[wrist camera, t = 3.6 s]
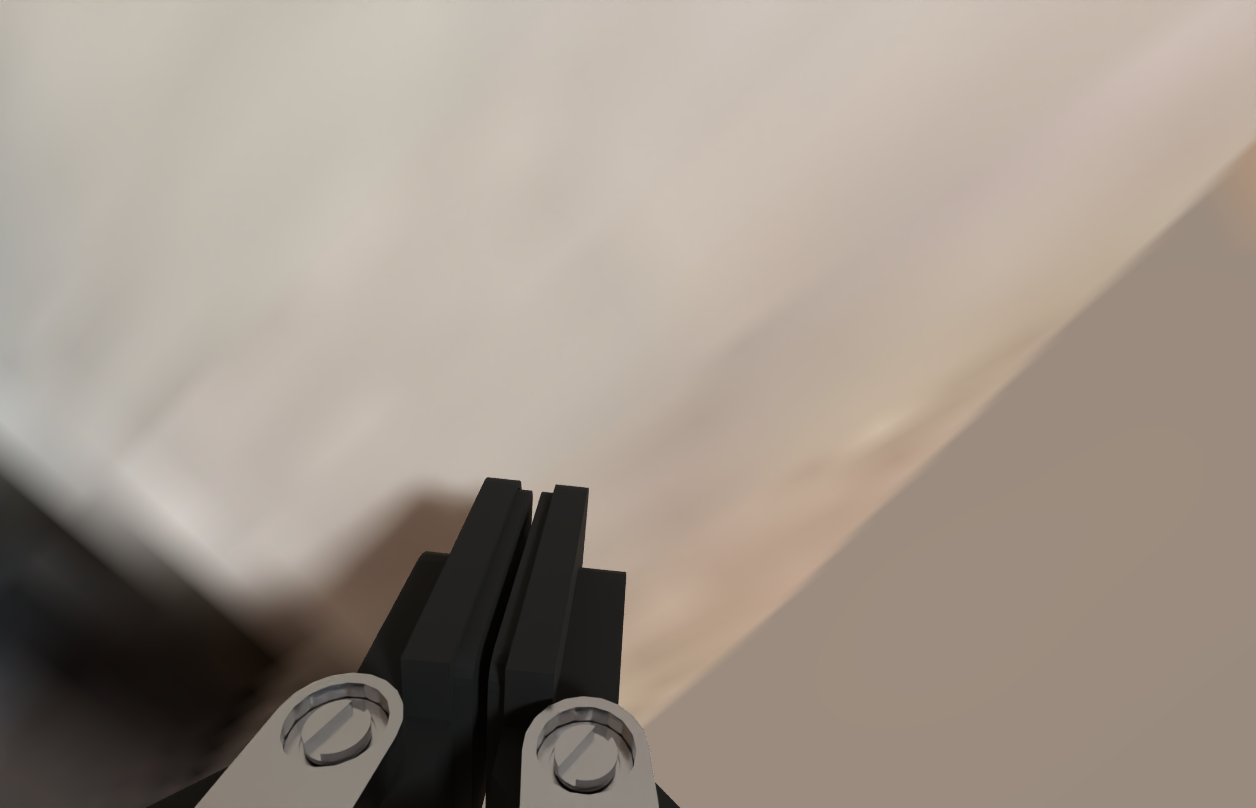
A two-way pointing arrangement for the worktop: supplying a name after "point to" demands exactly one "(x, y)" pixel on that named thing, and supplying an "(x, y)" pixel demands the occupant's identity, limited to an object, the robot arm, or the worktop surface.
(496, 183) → the worktop surface
